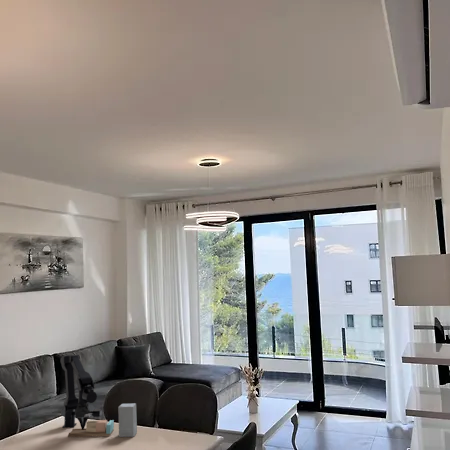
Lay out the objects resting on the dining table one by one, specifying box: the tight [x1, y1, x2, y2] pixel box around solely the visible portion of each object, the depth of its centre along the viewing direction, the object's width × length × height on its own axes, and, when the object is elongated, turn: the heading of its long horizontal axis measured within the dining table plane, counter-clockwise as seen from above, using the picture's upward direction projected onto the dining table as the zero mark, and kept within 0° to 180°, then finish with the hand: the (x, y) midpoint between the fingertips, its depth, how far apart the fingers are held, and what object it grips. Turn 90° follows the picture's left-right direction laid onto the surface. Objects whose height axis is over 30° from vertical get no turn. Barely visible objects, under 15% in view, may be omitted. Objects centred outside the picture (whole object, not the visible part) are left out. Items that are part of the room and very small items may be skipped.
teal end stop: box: [106, 419, 115, 434], centre depth 249 cm, size 9×2×4 cm, turn 2°
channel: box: [67, 427, 115, 438], centre depth 248 cm, size 9×22×2 cm, turn 92°
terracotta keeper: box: [96, 419, 108, 432], centre depth 249 cm, size 4×5×5 cm
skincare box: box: [117, 402, 138, 438], centre depth 246 cm, size 8×7×16 cm
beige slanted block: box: [85, 419, 98, 432], centre depth 249 cm, size 4×5×5 cm
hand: (82, 429), depth 248 cm, fingers closed
